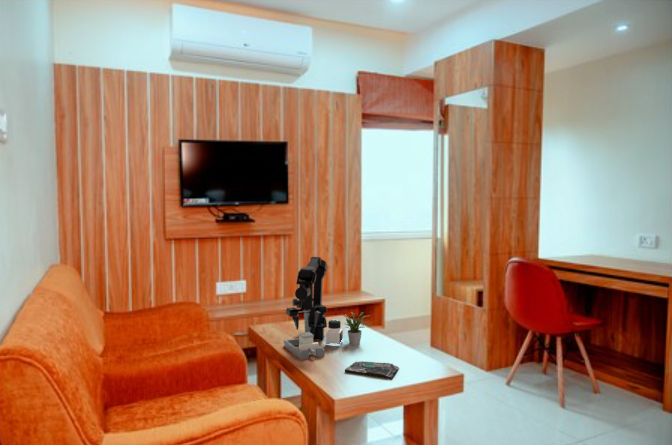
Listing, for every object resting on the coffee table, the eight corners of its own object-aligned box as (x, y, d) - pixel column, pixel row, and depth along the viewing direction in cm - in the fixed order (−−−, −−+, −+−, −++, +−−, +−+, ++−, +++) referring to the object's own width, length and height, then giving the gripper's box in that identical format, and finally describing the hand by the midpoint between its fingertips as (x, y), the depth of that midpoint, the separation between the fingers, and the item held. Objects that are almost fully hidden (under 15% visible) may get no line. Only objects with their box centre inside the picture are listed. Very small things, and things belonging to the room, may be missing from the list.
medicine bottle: (339, 347, 235) (340, 322, 234) (325, 346, 236) (325, 322, 235) (342, 342, 242) (342, 319, 241) (328, 341, 243) (329, 318, 242)
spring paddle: (299, 355, 221) (299, 344, 221) (317, 352, 226) (317, 342, 225) (305, 360, 215) (305, 349, 214) (323, 357, 219) (324, 346, 218)
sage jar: (309, 350, 229) (309, 331, 229) (313, 353, 224) (313, 334, 224) (298, 351, 227) (298, 333, 226) (302, 355, 222) (303, 336, 222)
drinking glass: (301, 331, 260) (301, 309, 259) (318, 329, 264) (318, 308, 264) (308, 336, 251) (308, 314, 250) (325, 334, 255) (325, 312, 255)
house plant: (371, 339, 247) (372, 308, 246) (370, 348, 234) (371, 315, 233) (344, 338, 249) (344, 307, 248) (341, 346, 235) (342, 313, 234)
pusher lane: (284, 346, 235) (284, 338, 235) (307, 343, 240) (307, 335, 240) (300, 359, 216) (300, 351, 216) (324, 356, 221) (324, 347, 221)
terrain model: (400, 368, 208) (400, 361, 208) (391, 381, 194) (391, 373, 194) (356, 362, 215) (356, 355, 215) (344, 374, 201) (344, 366, 201)
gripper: (318, 290, 235) (317, 322, 236) (281, 293, 227) (281, 326, 228) (327, 295, 225) (327, 328, 226) (290, 298, 217) (290, 332, 218)
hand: (306, 328), depth 225 cm, fingers open, 9 cm apart
